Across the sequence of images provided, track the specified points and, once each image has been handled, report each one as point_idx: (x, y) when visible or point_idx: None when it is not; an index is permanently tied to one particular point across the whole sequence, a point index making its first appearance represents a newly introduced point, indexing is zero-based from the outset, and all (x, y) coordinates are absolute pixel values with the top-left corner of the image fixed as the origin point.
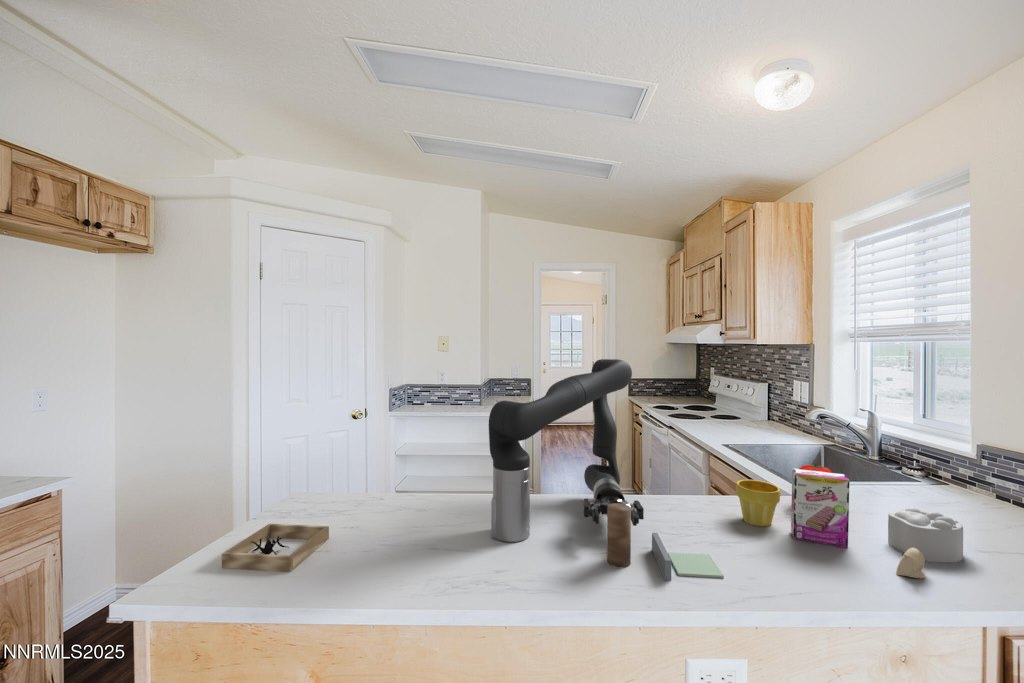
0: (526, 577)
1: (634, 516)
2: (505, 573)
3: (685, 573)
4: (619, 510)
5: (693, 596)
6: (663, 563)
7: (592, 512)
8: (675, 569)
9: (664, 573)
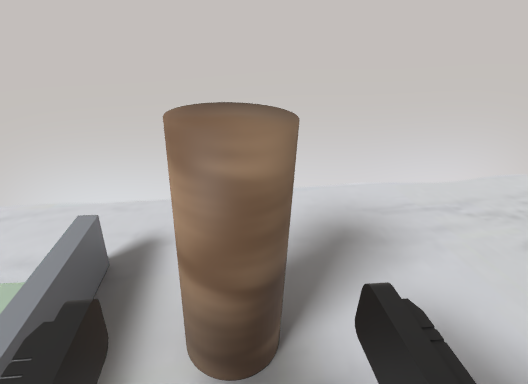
0: (458, 234)
1: (82, 300)
2: (514, 240)
3: (19, 283)
4: (234, 105)
5: None
6: (93, 248)
7: (454, 360)
8: None
9: (103, 259)
